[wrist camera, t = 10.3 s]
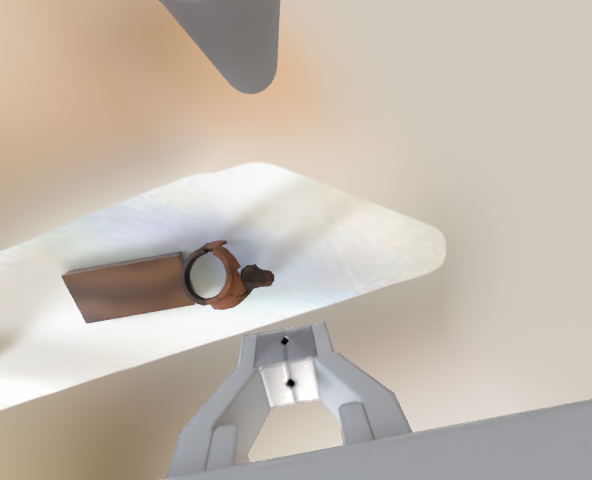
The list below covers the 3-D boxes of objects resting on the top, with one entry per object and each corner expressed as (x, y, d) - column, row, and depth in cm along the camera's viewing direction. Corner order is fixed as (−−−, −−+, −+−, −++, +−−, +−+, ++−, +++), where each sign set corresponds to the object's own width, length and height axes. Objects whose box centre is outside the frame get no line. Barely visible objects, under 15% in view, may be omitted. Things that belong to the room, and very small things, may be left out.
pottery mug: (211, 305, 43) (176, 316, 35) (207, 245, 44) (172, 242, 36) (285, 300, 40) (265, 311, 32) (279, 236, 41) (258, 231, 33)
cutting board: (68, 271, 39) (60, 276, 37) (181, 251, 39) (177, 255, 38) (92, 317, 42) (86, 323, 40) (197, 299, 42) (194, 304, 40)
